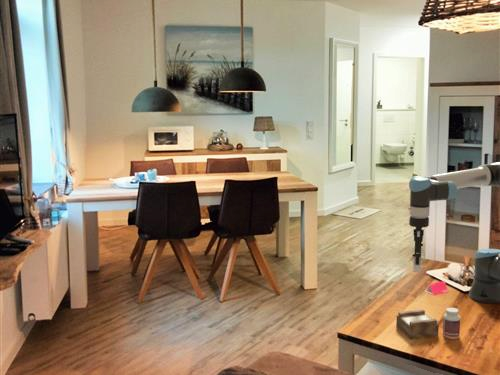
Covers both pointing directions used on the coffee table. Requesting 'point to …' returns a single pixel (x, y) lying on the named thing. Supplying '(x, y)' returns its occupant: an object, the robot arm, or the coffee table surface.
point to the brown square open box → (417, 324)
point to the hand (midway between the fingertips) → (417, 266)
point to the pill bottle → (451, 323)
